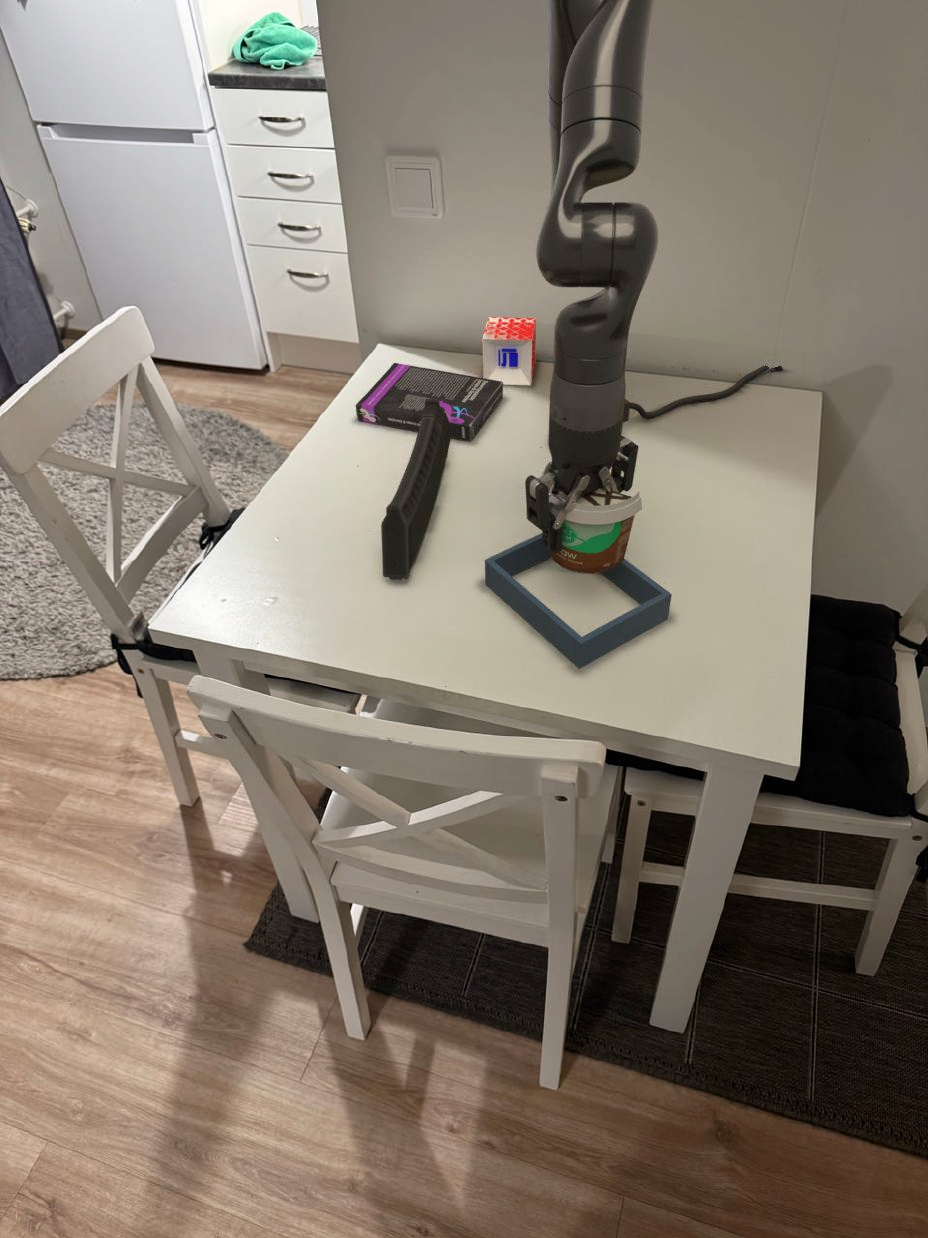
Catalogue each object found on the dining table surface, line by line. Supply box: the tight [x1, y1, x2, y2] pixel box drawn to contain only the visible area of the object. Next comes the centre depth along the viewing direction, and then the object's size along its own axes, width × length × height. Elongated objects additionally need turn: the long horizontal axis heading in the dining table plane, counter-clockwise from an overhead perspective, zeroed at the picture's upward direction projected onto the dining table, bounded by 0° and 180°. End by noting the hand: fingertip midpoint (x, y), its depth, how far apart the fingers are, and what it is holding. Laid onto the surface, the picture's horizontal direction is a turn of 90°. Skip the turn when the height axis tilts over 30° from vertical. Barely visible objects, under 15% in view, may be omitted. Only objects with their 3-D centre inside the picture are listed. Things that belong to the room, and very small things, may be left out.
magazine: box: [380, 399, 452, 581], centre depth 120 cm, size 17×3×30 cm
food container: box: [540, 460, 643, 574], centre depth 102 cm, size 12×6×10 cm, turn 55°
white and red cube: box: [481, 316, 537, 386], centre depth 150 cm, size 8×8×8 cm
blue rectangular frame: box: [484, 532, 673, 669], centre depth 109 cm, size 14×18×4 cm
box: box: [354, 362, 504, 443], centre depth 143 cm, size 14×4×20 cm
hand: (578, 536), depth 104 cm, fingers closed on food container, 7 cm apart
